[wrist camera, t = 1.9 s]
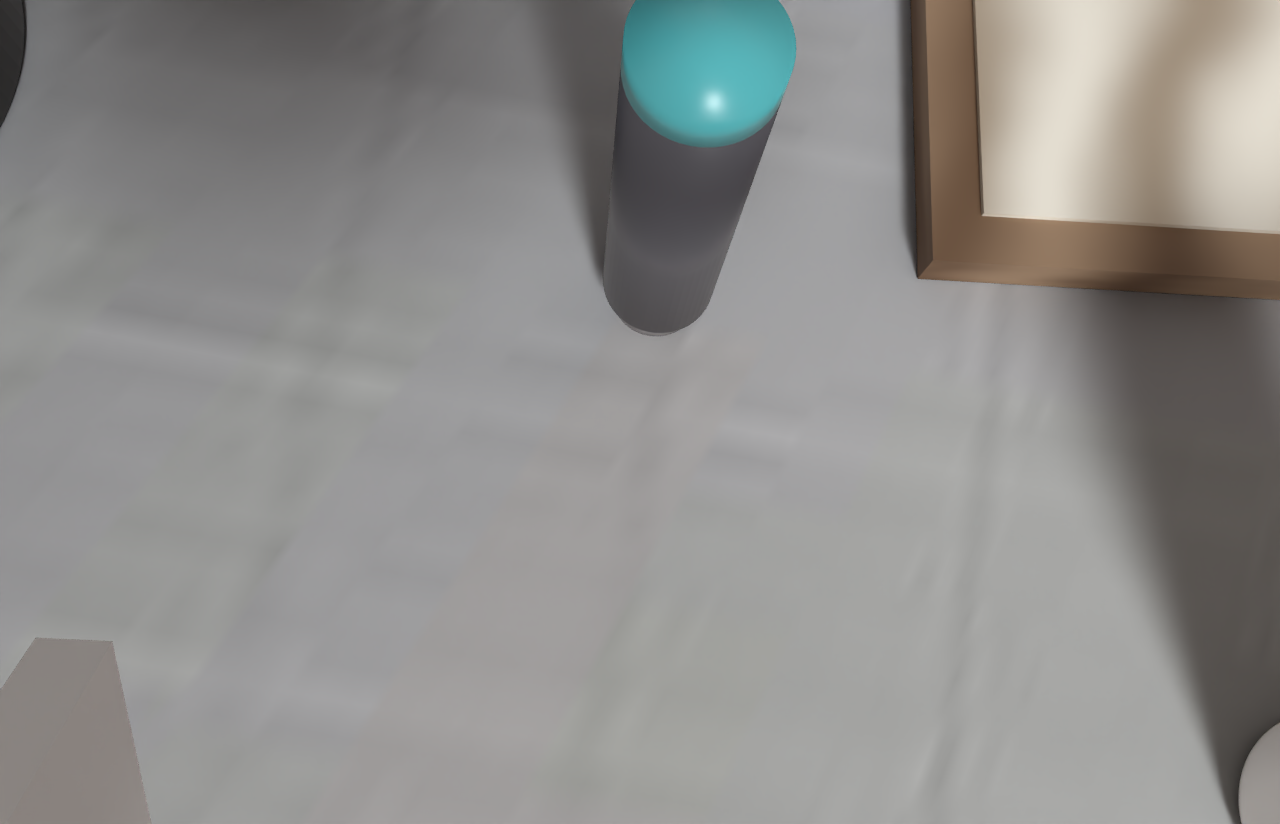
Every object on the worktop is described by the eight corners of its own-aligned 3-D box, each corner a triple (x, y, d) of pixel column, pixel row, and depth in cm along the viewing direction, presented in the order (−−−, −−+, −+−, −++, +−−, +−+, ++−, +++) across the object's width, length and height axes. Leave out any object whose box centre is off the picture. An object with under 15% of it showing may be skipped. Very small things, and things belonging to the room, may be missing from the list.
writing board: (917, 278, 34) (935, 257, 33) (906, -163, 38) (921, -202, 37) (1422, 308, 35) (1463, 289, 33) (1359, -127, 39) (1394, -163, 37)
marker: (599, 342, 33) (619, 115, 20) (604, 241, 34) (626, -40, 21) (707, 348, 33) (795, 126, 20) (709, 248, 34) (796, -28, 21)
